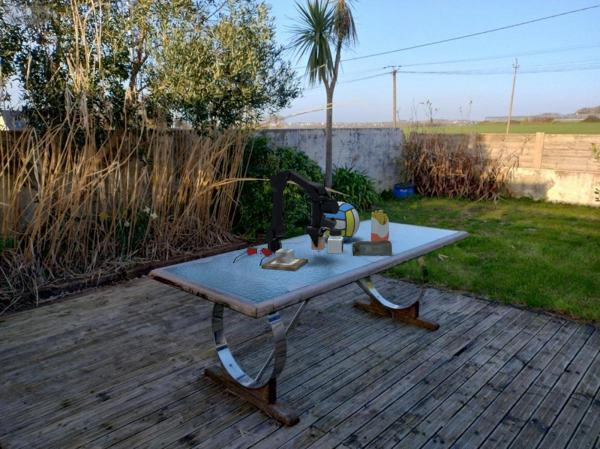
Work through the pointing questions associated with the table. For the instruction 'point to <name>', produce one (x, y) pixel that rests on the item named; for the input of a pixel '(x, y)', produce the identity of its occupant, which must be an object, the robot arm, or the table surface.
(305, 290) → the table surface
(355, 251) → the beverage carton
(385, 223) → the french fries container
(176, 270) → the table surface
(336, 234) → the medicine bottle
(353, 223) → the volleyball
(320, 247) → the terracotta block
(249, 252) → the glasses
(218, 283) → the table surface
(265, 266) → the base board
